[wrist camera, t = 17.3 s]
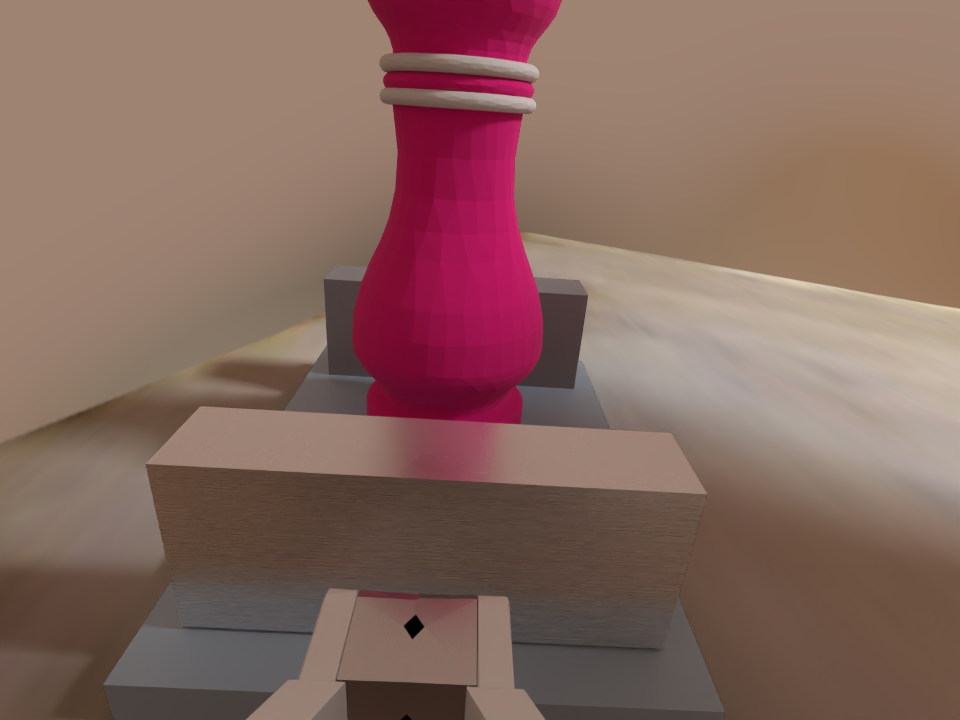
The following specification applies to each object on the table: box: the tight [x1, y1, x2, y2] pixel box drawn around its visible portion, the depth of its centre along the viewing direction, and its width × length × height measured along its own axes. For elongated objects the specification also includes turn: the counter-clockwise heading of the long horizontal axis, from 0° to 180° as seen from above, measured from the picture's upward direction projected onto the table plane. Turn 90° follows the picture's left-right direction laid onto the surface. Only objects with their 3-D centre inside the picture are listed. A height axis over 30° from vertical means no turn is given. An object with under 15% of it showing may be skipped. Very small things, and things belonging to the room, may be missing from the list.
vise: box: [103, 265, 725, 720], centre depth 21 cm, size 14×20×6 cm
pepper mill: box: [352, 0, 562, 424], centre depth 19 cm, size 7×7×20 cm
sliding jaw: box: [146, 406, 708, 649], centre depth 14 cm, size 12×2×5 cm, turn 90°
